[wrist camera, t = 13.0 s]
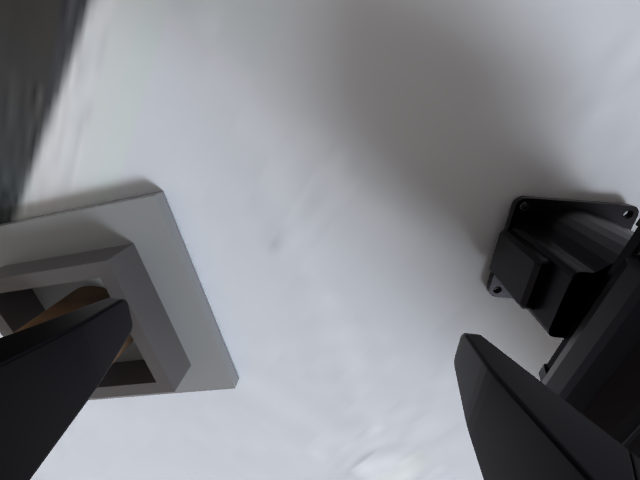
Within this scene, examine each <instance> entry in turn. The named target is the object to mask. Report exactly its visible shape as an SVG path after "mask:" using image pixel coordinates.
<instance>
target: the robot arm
mask: <svg viewBox="0 0 640 480" xmlns="http://www.w3.org/2000/svg"><path fill="white" fill-rule="evenodd" d="M524 202H526V206H525V207H524V208H522V209H520V205H521V204H522V203H524ZM626 211H628V213H627V214H626V215H625V216H623V214H624V213H625V212H626ZM638 213H639V211H638V208H637V207H635V206H632V205H629V204H624V203H611V202H597V201H584V200H570V199H557V198H543V197H530V196H520V197H518V198H516V199H515V200H514V201H513V203H512V206H511V209H510V213H509V216H508V219H507V222H506V226H505V229H504V230H503V231H502V232H501V233H500V235H499V239H498V242H497V245H496V249H495V252H494V255H493V258H492V262H491V265H490V270H491V274H490V277H489V281H488V284H487V290H488V292H489V293H490V294H491V295H492V296H495V297H505V298H514V299H515V301H516V302H517V303H518V304H519V305H520V307H521V308H523V309H528V310H529V311H530V312H531V314H532V315H533V316H534V317H535V318H536V320H537V321H538V322H539V323H540V324H541V326H542V327H543V328H544V329H545V330H546V331H547V333H548V334H549V335H550V336H552V337H560V338H564V340H563V341H562V343H561V344H560V346H559V347H558V349H557V350H556V352H555V353H554V355H553V356H552V358H551V359H550V361H549V362H548V364H544V365H543V367H542V368H541V370H540V371H539V376H540V380H541V381H539V380H538V379H537V378H535V377H534V376H533V375H531V374H530V373H529V372H528V371H526V370H525V369H524V368H522V367H521V366H520V365H519V364H517V363H516V362H515V361H513V360H512V359H511V358H509V357H508V356H507V355H506V354H504V353H503V352H502V351H500V350H499V349H498V348H497V347H495V346H494V345H493V344H491V343H490V342H489V341H487V340H486V339H485V338H484V337H482V336H481V335H478V334H468V333H464V334H463V335H462V336H461V338H460V341H459V345H458V348H457V352H456V355H455V360H454V365H455V371H456V376H457V381H458V386H459V390H460V395H461V400H462V405H463V410H464V415H465V419H466V424H467V427H468V431H469V434H470V438H471V441H472V444H473V447H474V450H475V453H476V456H477V460H478V463H479V466H480V469H481V472H482V475H483V478H484V480H640V219H639V220H638V222H637V223H636V226H638V227H637V229H636V231H635V232H633V231H631V229H632V227H633V224H634V222H635V220H636V218H637V216H638ZM498 286H499V288H498V289H496V290H493V289H494V288H495V287H498ZM132 327H133V321H132V317H131V312H130V308H129V304H128V302H127V300H125V299H123V298H112V297H111V298H107V299H104V300H101V301H99V302H96V303H93V304H91V305H88V306H85V307H83V308H80V309H77V310H75V311H72V312H69V313H66V314H64V315H61V316H58V317H56V318H53V319H50V320H48V321H45V322H42V323H39V324H37V325H34V326H31V327H29V328H26V329H23V330H21V331H18V332H15V333H13V334H10V335H7V336H4V337H2V338H0V480H30V479H31V478H32V476H33V475H34V473H35V472H36V471H37V469H38V468H39V467H40V465H41V464H42V462H43V461H44V460H45V458H46V457H47V456H48V454H49V453H50V451H51V450H52V449H53V447H54V446H55V445H56V443H57V442H58V441H59V439H60V438H61V436H62V435H63V434H64V432H65V431H66V430H67V428H68V427H69V425H70V424H71V423H72V421H73V420H74V419H75V417H76V416H77V414H78V413H79V412H80V410H81V409H82V408H83V406H84V405H85V403H86V402H87V401H88V399H89V398H90V397H91V395H92V394H93V393H94V391H95V390H96V388H97V387H98V385H99V384H100V383H101V381H102V379H103V378H104V376H105V375H106V373H107V371H108V370H109V368H110V366H111V365H112V363H113V361H114V360H115V358H116V356H117V355H118V353H119V351H120V350H121V348H122V346H123V345H124V343H125V341H126V340H127V338H128V336H129V335H130V333H131V331H132Z"/></svg>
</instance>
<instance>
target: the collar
mask: <svg viewBox="0 0 640 480" xmlns="http://www.w3.org/2000/svg"><path fill="white" fill-rule="evenodd" d="M85 286H96V287H101V288H105V289H106V290H107V292H108V293H109V295H110V297H112V298H123V299H125V300H127V302H128V304H129V308H130V312H131V317H132V321H133V327H132V331H131V333H130V334H131V336H132V338H133V340H134V341H133V342H132V343H131V344H130V345H129V346H128V347H127V348H126V349H125V351H124V352H123V353H122V354H121V355H120V356H119V357H118V358H117V360H116V361H115V362H114V363H113V364H112V365H111V366H110V368H109V370H108V371H107V373H106V375H105V376H104V378H103V379H102V381H101V383H100V384H99V385H98V387H97V388H96V390H95V391H94V393H93V394H92V395H91V397H90V398H89V399H88V400H96V399H108V398H120V397H133V396H145V395H157V394H170V393H182V392H195V391H207V390H219V389H232V388H235V387H236V385H237V382H238V380H239V377H238V374H237V372H236V369H235V367H234V364H233V362H232V360H231V357H230V355H229V352H228V350H227V347H226V345H225V342H224V340H223V337H222V335H221V332H220V330H219V327H218V325H217V323H216V320H215V318H214V315H213V313H212V310H211V308H210V305H209V303H208V300H207V298H206V295H205V293H204V291H203V288H202V286H201V283H200V281H199V278H198V276H197V273H196V271H195V268H194V266H193V263H192V261H191V258H190V256H189V254H188V251H187V249H186V246H185V244H184V241H183V239H182V236H181V234H180V231H179V229H178V226H177V224H176V222H175V219H174V217H173V214H172V212H171V209H170V207H169V204H168V202H167V199H166V197H165V194H164V192H163V191H162V192H157V193H152V194H147V195H142V196H137V197H132V198H127V199H122V200H117V201H112V202H107V203H102V204H97V205H92V206H87V207H82V208H77V209H72V210H67V211H63V212H58V213H53V214H48V215H43V216H38V217H33V218H28V219H23V220H18V221H13V222H8V223H3V224H0V333H1V334H2V336H3V337H4V336H7V335H10V334H12V333H14V332H15V331H17V330H18V329H19V328H21V327H22V326H24V325H25V324H27V323H28V322H29V321H31V320H32V319H34V318H35V317H37V316H38V315H40V314H41V313H42V312H44V311H45V310H47V309H48V308H50V307H51V306H53V305H54V304H55V303H57V302H58V301H60V300H61V299H63V298H64V297H65V296H67V295H68V294H70V293H71V292H73V291H74V290H76V289H78V288H80V287H85Z"/></svg>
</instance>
